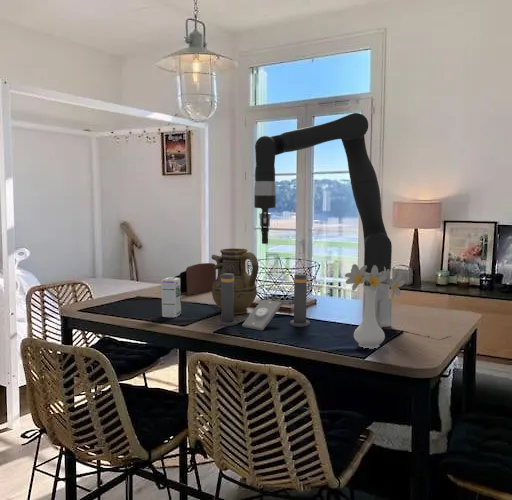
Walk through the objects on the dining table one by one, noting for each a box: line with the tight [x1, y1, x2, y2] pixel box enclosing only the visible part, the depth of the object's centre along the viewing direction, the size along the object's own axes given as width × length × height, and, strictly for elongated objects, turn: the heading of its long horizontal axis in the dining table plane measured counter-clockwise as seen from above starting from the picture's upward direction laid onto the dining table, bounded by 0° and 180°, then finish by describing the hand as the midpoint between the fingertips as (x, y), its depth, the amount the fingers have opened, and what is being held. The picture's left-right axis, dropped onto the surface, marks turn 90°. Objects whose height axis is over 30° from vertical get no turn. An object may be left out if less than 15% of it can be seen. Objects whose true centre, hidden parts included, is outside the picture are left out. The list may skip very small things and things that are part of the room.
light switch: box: [241, 299, 283, 331], centre depth 190 cm, size 8×6×14 cm
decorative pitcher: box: [211, 247, 259, 315], centre depth 209 cm, size 22×18×25 cm
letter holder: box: [174, 262, 217, 296], centre depth 256 cm, size 10×20×14 cm, turn 142°
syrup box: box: [160, 276, 182, 318], centre depth 204 cm, size 6×6×14 cm
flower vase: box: [344, 263, 406, 350], centre depth 162 cm, size 13×18×25 cm
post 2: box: [289, 273, 311, 328], centre depth 190 cm, size 7×7×18 cm
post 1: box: [217, 273, 238, 327], centre depth 191 cm, size 7×7×18 cm
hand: (264, 243), depth 189 cm, fingers closed
